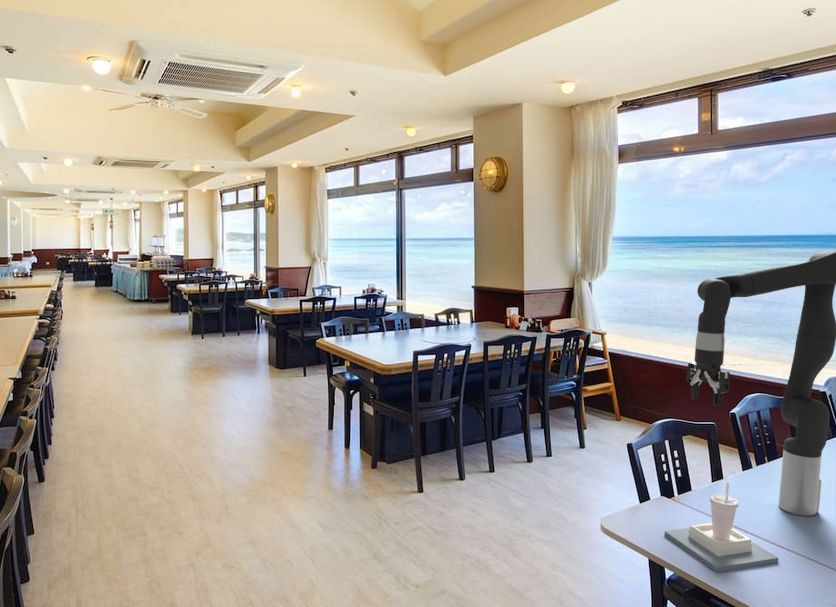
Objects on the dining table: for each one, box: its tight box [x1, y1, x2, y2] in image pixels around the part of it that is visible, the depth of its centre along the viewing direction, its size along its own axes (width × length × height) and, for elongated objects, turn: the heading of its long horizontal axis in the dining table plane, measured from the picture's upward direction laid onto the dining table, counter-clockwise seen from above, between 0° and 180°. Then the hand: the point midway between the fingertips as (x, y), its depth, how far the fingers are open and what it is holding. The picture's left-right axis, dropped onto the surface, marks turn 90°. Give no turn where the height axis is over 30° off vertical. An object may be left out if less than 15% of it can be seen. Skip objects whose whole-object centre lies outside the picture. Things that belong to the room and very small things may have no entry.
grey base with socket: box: [664, 522, 779, 573], centre depth 147 cm, size 18×18×4 cm
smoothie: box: [708, 482, 739, 540], centre depth 146 cm, size 6×6×14 cm
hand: (705, 401), depth 173 cm, fingers open, 8 cm apart
